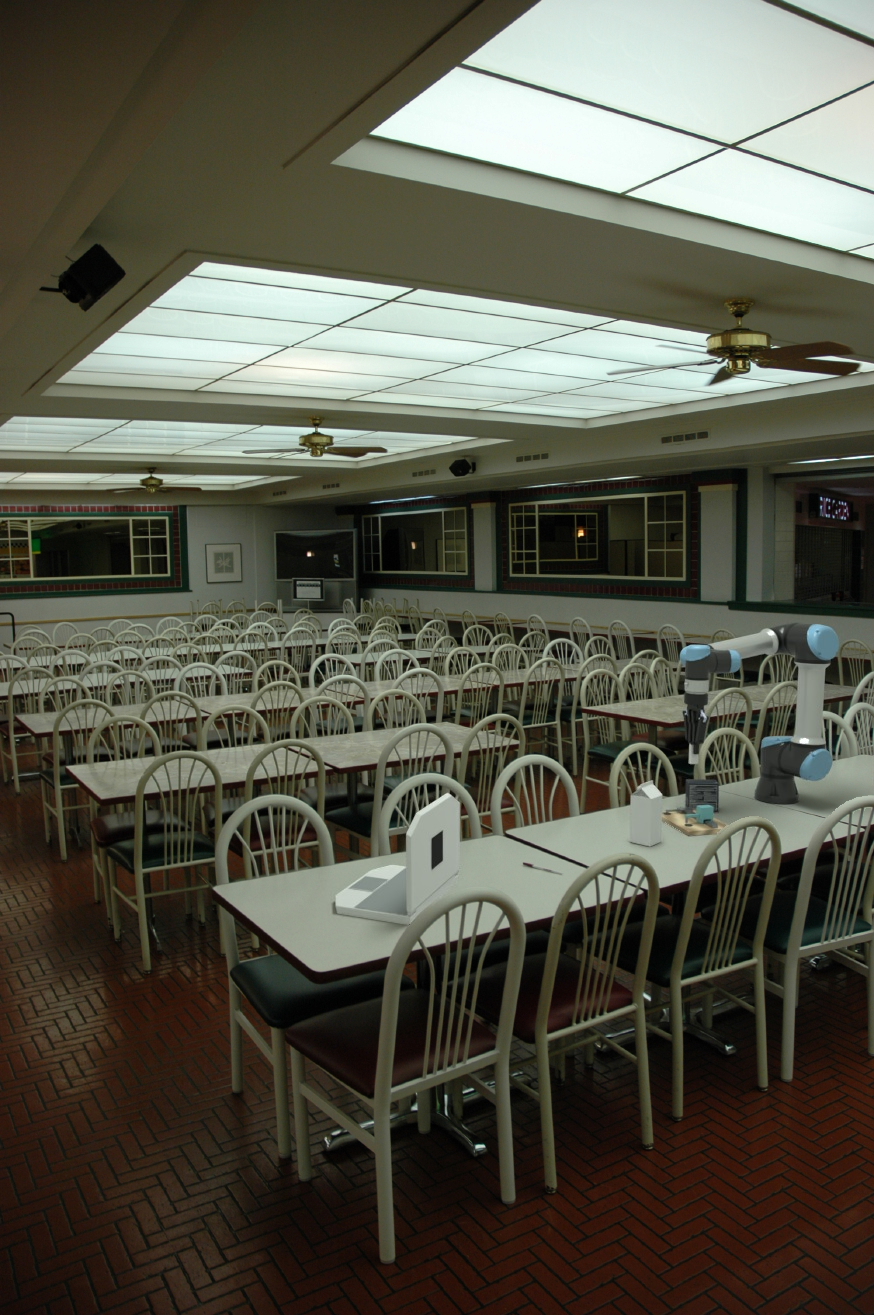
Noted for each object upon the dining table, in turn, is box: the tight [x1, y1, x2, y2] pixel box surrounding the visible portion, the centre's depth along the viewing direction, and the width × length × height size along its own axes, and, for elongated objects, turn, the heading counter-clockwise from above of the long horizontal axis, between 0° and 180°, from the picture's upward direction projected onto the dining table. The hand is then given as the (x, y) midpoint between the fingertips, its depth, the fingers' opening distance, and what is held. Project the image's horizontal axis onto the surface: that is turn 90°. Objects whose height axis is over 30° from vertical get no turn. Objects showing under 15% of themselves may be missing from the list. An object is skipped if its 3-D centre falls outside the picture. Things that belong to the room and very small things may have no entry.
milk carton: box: [629, 780, 663, 847], centre depth 287 cm, size 7×7×19 cm
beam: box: [665, 806, 718, 828], centre depth 306 cm, size 9×20×1 cm, turn 15°
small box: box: [684, 778, 720, 813], centre depth 323 cm, size 11×6×10 cm, turn 84°
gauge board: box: [662, 810, 728, 836], centre depth 306 cm, size 16×22×2 cm
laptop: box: [334, 792, 461, 926], centre depth 242 cm, size 33×24×26 cm
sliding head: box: [685, 805, 714, 824], centre depth 302 cm, size 9×3×5 cm, turn 105°
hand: (693, 763), depth 305 cm, fingers closed
